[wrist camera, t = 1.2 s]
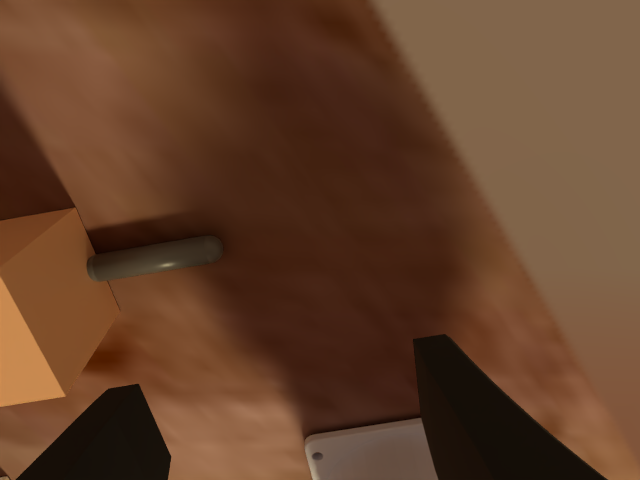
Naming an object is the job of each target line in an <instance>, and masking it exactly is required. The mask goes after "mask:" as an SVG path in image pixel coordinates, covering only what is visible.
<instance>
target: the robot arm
mask: <svg viewBox="0 0 640 480" xmlns="http://www.w3.org/2000/svg"><path fill="white" fill-rule="evenodd" d="M413 344H414V354H415V364H416V373H417V383H418V393H419V402H420V412H421V418H416V419H410V420H403V421H397V422H391V423H384V424H378V425H371V426H365V427H358V428H352V429H346V430H339V431H333V432H326V433H320V434H314V435H310V436H309V437H307V438H306V440H305V453H306V456H307V460H308V464H309V468H310V472H311V475H312V479H313V480H608V479H606V478H605V477H604V476H602V475H601V474H600V473H598V472H597V471H596V470H595V469H593V468H592V467H591V466H589V465H588V464H587V463H586V462H584V461H583V460H582V459H581V458H579V457H578V456H577V455H576V454H575V453H573V452H572V451H571V450H570V449H568V448H567V447H566V446H565V445H564V444H562V443H561V442H560V441H559V440H557V439H556V438H555V437H554V436H553V435H551V434H550V433H549V432H548V431H547V430H546V429H545V428H543V427H542V426H541V425H540V424H539V423H538V422H536V421H535V420H534V419H533V418H532V417H531V416H530V415H529V414H527V413H526V412H525V411H524V410H523V409H522V408H521V407H520V406H519V405H518V404H516V403H515V402H514V401H513V400H512V399H511V398H510V397H509V396H508V395H507V394H505V393H504V392H503V391H502V390H501V389H500V388H499V387H498V386H497V385H496V384H495V383H494V382H493V381H492V380H491V379H490V378H489V377H488V376H487V375H486V374H485V373H484V372H483V371H482V370H481V369H480V368H479V367H478V366H477V365H476V364H475V363H474V362H473V361H472V360H471V359H470V358H469V357H468V356H467V355H466V354H465V353H464V352H463V351H462V350H461V349H460V348H459V346H458V345H457V344H456V343H455V342H454V341H453V340H452V339H451V338H450V337H448V336H447V335H446V334H443V335H437V336H430V337H424V338H418V339H413ZM316 452H320V453H316ZM170 462H171V455H170V453H169V451H168V449H167V446H166V444H165V442H164V440H163V437H162V435H161V433H160V431H159V428H158V426H157V424H156V422H155V419H154V417H153V415H152V413H151V410H150V408H149V406H148V404H147V401H146V399H145V397H144V395H143V392H142V390H141V388H140V386H139V384H134V385H128V386H122V387H116V388H110V389H108V390H106V391H105V392H104V393H103V394H102V395H101V396H100V397H99V398H98V399H96V400H95V401H94V402H93V403H92V404H91V405H90V406H89V407H88V408H87V409H86V410H85V411H84V412H83V413H82V414H81V415H80V416H79V417H78V418H77V419H76V420H75V421H74V422H73V423H72V424H71V425H70V426H69V427H68V428H67V429H66V430H65V431H64V432H63V433H62V434H61V435H60V436H59V437H58V438H57V439H56V440H55V441H54V442H53V443H52V444H51V445H50V446H49V447H48V448H47V449H46V450H45V451H44V452H43V453H42V454H41V455H40V456H39V457H38V458H37V459H36V460H35V461H34V462H33V463H32V464H31V465H30V466H29V467H28V468H27V469H26V470H25V471H24V472H23V473H22V474H21V475H20V476H19V477H18V478H17V479H16V480H168V475H169V468H170Z"/></svg>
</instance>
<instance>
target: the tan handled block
mask: <svg viewBox="0 0 640 480" xmlns="http://www.w3.org/2000/svg"><path fill="white" fill-rule="evenodd" d="M222 254H223V245H222V242H221V241H220V240H219V239H218V238H217V237H215V236H212V235H206V236H200V237H194V238H188V239H182V240H176V241H171V242H165V243H159V244H153V245H147V246H141V247H136V248H130V249H124V250H118V251H112V252H106V253H100V254H95V251H94V249H93V247H92V244H91V242H90V240H89V238H88V235H87V233H86V231H85V228H84V226H83V224H82V221H81V219H80V217H79V214H78V212H77V210H76V207H75V208H69V209H64V210H58V211H52V212H47V213H41V214H35V215H30V216H24V217H18V218H13V219H7V220H1V221H0V407H1V406H8V405H14V404H20V403H27V402H33V401H39V400H46V399H52V398H58V397H65V396H66V395H67V393H68V392H69V390H70V389H71V387H72V386H73V384H74V383H75V381H76V379H77V378H78V376H79V375H80V373H81V372H82V370H83V369H84V367H85V365H86V364H87V362H88V361H89V359H90V358H91V356H92V355H93V353H94V352H95V350H96V348H97V347H98V345H99V344H100V342H101V341H102V339H103V338H104V336H105V334H106V333H107V331H108V330H109V328H110V327H111V325H112V324H113V322H114V320H115V319H116V317H117V316H118V314H119V313H120V310H119V307H118V305H117V303H116V300H115V298H114V296H113V293H112V291H111V289H110V286H109V284H108V282H107V281H108V280H114V279H120V278H126V277H132V276H138V275H144V274H150V273H156V272H162V271H168V270H173V269H179V268H185V267H191V266H197V265H203V264H209V263H214V262H216V261H217V260H219V259H220V258H221V256H222Z"/></svg>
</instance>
